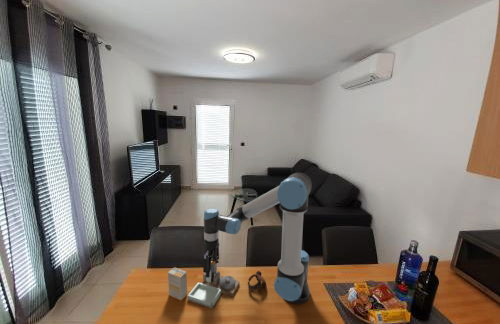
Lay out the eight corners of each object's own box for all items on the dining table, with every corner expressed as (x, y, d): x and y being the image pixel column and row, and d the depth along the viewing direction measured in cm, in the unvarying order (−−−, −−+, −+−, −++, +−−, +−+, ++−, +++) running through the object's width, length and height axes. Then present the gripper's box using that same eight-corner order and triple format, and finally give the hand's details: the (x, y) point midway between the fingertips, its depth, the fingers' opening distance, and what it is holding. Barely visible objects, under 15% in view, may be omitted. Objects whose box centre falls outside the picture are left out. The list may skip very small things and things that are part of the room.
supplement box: (187, 294, 108) (187, 271, 105) (181, 301, 103) (180, 277, 101) (175, 289, 111) (174, 266, 109) (168, 295, 107) (167, 272, 104)
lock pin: (216, 278, 117) (216, 260, 115) (213, 282, 113) (212, 264, 111) (210, 276, 118) (210, 258, 116) (206, 281, 114) (206, 262, 113)
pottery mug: (268, 295, 109) (261, 285, 106) (251, 300, 111) (244, 290, 108) (268, 275, 120) (261, 265, 117) (253, 279, 122) (246, 269, 119)
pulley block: (239, 284, 116) (239, 274, 115) (232, 296, 107) (232, 286, 106) (209, 275, 121) (209, 266, 120) (201, 286, 113) (201, 276, 112)
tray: (221, 293, 109) (221, 289, 108) (212, 308, 100) (212, 303, 100) (198, 286, 113) (198, 282, 113) (187, 299, 104) (187, 295, 104)
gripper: (213, 228, 121) (213, 265, 125) (195, 245, 104) (195, 287, 108) (225, 231, 119) (225, 268, 123) (208, 249, 102) (208, 291, 105)
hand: (211, 277), depth 115 cm, fingers open, 6 cm apart
